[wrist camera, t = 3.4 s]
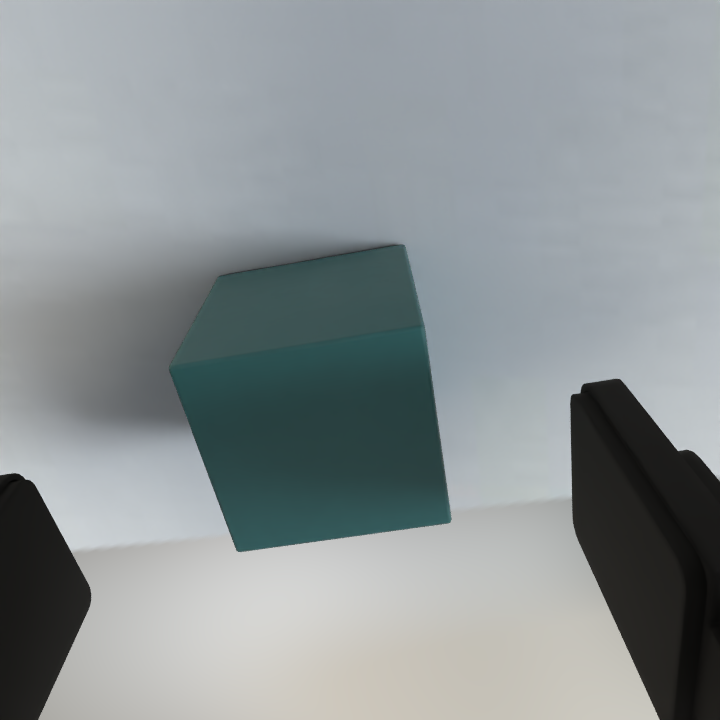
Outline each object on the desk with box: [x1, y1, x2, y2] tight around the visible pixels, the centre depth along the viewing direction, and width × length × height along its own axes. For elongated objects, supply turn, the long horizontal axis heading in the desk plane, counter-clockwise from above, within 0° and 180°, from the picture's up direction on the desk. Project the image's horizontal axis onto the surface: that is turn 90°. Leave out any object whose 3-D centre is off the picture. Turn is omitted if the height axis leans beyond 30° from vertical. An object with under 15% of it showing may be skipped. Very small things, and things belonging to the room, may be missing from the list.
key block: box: [169, 245, 451, 552], centre depth 13 cm, size 4×4×4 cm
